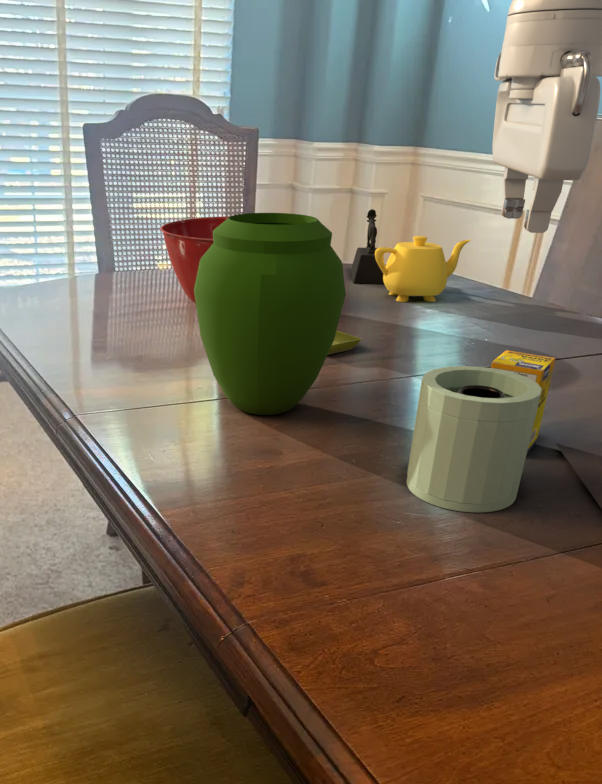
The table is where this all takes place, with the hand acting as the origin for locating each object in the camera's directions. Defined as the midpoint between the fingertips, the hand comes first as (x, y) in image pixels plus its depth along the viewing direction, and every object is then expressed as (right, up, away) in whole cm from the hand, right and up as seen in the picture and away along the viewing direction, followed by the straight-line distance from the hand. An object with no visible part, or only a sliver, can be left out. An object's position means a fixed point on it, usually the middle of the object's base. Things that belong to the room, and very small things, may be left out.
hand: (522, 224), depth 74 cm
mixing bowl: (-24, +18, +85) cm, 90 cm away
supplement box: (+7, -19, +21) cm, 29 cm away
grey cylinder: (-2, -24, +10) cm, 26 cm away
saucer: (-9, +2, +58) cm, 59 cm away
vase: (-22, -12, +33) cm, 42 cm away
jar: (-2, -25, +11) cm, 27 cm away
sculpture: (+9, +32, +110) cm, 115 cm away
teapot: (+16, +22, +93) cm, 97 cm away
